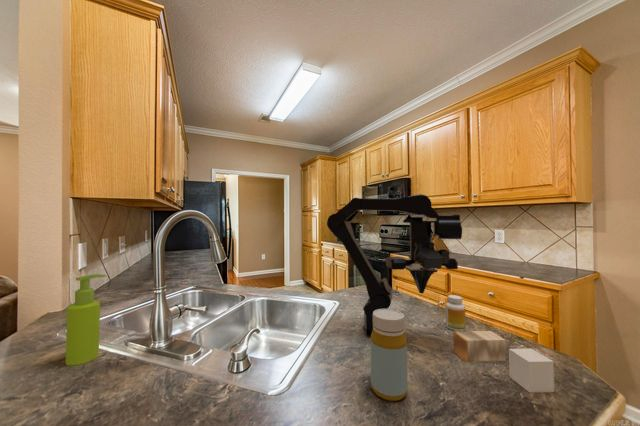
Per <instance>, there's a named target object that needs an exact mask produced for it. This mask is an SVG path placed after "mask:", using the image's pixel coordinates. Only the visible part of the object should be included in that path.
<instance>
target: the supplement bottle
mask: <svg viewBox="0 0 640 426" xmlns="http://www.w3.org/2000/svg"><path fill="white" fill-rule="evenodd" d="M447 300H448V301H447V302H446V304H445V326H446V328H447V329H449V330H451V331H465V330H466V306H465V305H464V304H463V297H462V296H461V295H457V294H456V295H455V294H454V295H453V294H450V295H448V297H447Z"/></svg>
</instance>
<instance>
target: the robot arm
mask: <svg viewBox="0 0 640 426" xmlns="http://www.w3.org/2000/svg"><path fill="white" fill-rule="evenodd" d="M361 211H377V212H378V211H380V212H381V211H382V212H383V211H384V212H385V211H387V212H401V213H406V214H407V216H406V218H405V219H403V222H402V223H404V224H405V223H407V224H409V239H410V240H408V245H409V246H410V247H409V251H410V252H409V254H408V259H405V258H403V257H402V256H387V257H386V259H385V266H386V267H387V268H389V269H391V270H395V271H396V270H401V271H402V270H404V269H405V270H407V271H408V272H410V274H411V277H412V278H413V281H414V283H415V286H416V289H417V290H418V292H419V294H424V293H425V290H426V287H427V285H428V282H429V281H430V278H431V276H432V275H433V274H434V273H438V270H441V269H442V267H444V268H446V269H447V270H458V268H459V266H458V265H459V264H458V261H457V259H456V258H455V257H450V251H449V250H447V249H439V250H437V249H436V248H435V243H434V242H432V231H433V236H437V238H438V239H439V240H462V237H463V226H462V222H461V216H460V214H452V215H439V214H438V212H437V211H436V210H435V209H434V208H433V207H432V201H431V199H430V198H429V197H428V196H427V195H425V194H421V193H420V194H413V195H409V196H408V195H407V196H404V197H398V198H389V197H388V198H382V197H381V198H373V197H371V198H367V197H366V198H363V197H361V198H360V197H353V198H352V199H351V200H350V201H349V202H347V204H345V205H344V206H343V207H342V208H340V209H339V210H338V211H337V212H336V213H332V214H330V215H329V217H328V218H327V221H326V226H327V228H328V229H329V231H330V232H331V233H332V234H333V235H334V236H335V237H336V238H337V239H338V240H339V241H340V242H341V243H342V245H343V246H344V248H345V250H346V252H347V253H348V255H349V256H350V257H349V258H351V260H352V262H353V264H354V266H355V268H357V271H358V272H359V274H360V276H361V278H362V280H363V281H364V285H365V287H366V292H367V295H368V299H367V301H366V303H364V305H363V313H364V314H363V317H364V318H363V322H364V323H363V324H364V325H363V326H362V328H363V331H364V333H365V335H366V337H371V333H372V331H373V312H374V311H375V310H377V309H390V307H391V303H392V300H393V298H394V297H393V287H392V286H390V284H389V283H388V282H389V281H388V279H387V278H386V277H383V278H380V276H379V275H377V273H376V271H375V269H374V268H373V266H372V264H371V262H370V261H369V259H368V257H367V256H366V254H365V253H364V251H363V249H362V247H361V246H360V244H359V242H358V240H357V239H356V237H355V235H354V231H353V227H352V224H351V221H352V220H354V219H355V217H356V216H357V215H358V214H359V213H360V212H361ZM411 215H416V216H411ZM422 215H423V216H424V217H427V218H428V219H435V220H423V217H422ZM432 224H433V230H432ZM438 239H437V240H438Z"/></svg>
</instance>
